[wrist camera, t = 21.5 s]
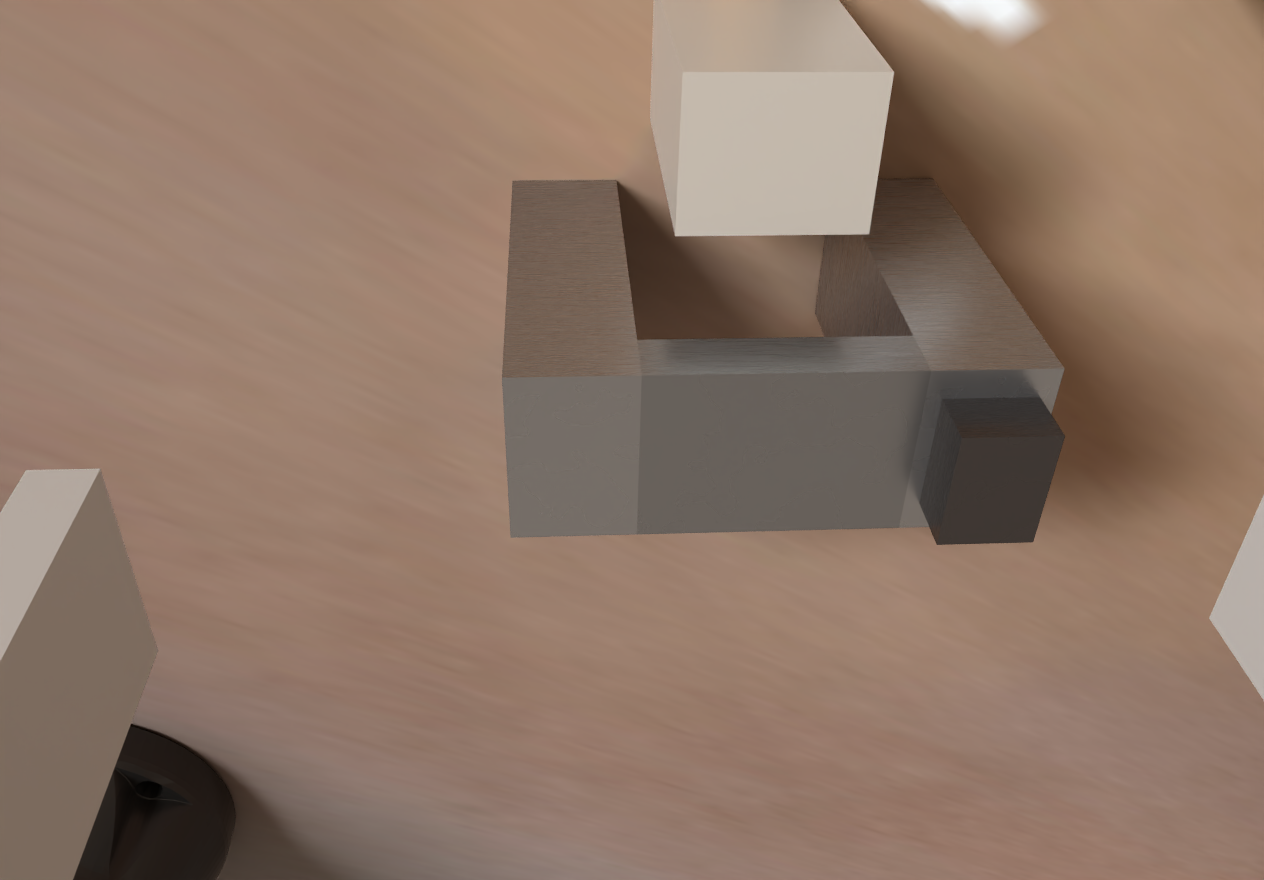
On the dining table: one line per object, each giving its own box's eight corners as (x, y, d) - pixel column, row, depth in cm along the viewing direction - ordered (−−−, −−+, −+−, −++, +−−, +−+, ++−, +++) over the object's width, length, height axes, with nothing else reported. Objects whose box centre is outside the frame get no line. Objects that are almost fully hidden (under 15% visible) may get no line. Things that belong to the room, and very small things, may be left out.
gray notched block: (518, 317, 47) (509, 580, 34) (512, 181, 44) (500, 417, 31) (908, 312, 48) (1041, 566, 35) (933, 178, 45) (1091, 406, 32)
